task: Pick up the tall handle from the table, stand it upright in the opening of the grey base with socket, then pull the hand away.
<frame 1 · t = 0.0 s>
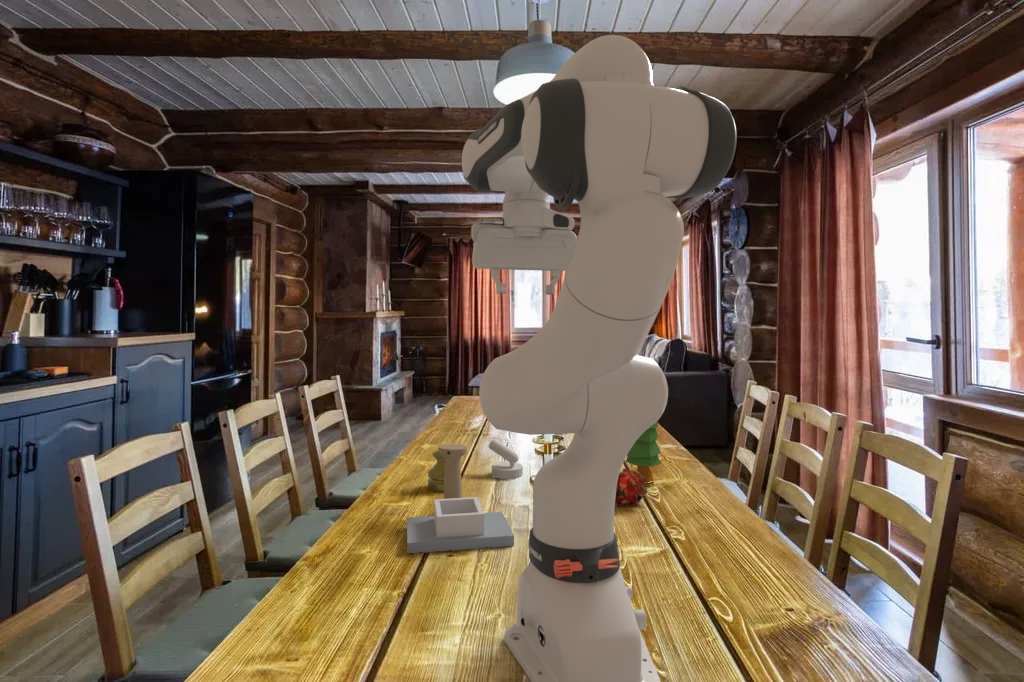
hand: (525, 294, 103), 48 cm above the table, tool pointing down, fingers open, 8 cm apart
grey base with socket: (458, 536, 109), on the table
handle: (452, 514, 121), on the table
decorative tree: (641, 481, 147), on the table
wall hook: (505, 475, 152), on the table
dragon fruit: (626, 504, 129), on the table
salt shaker: (442, 488, 139), on the table
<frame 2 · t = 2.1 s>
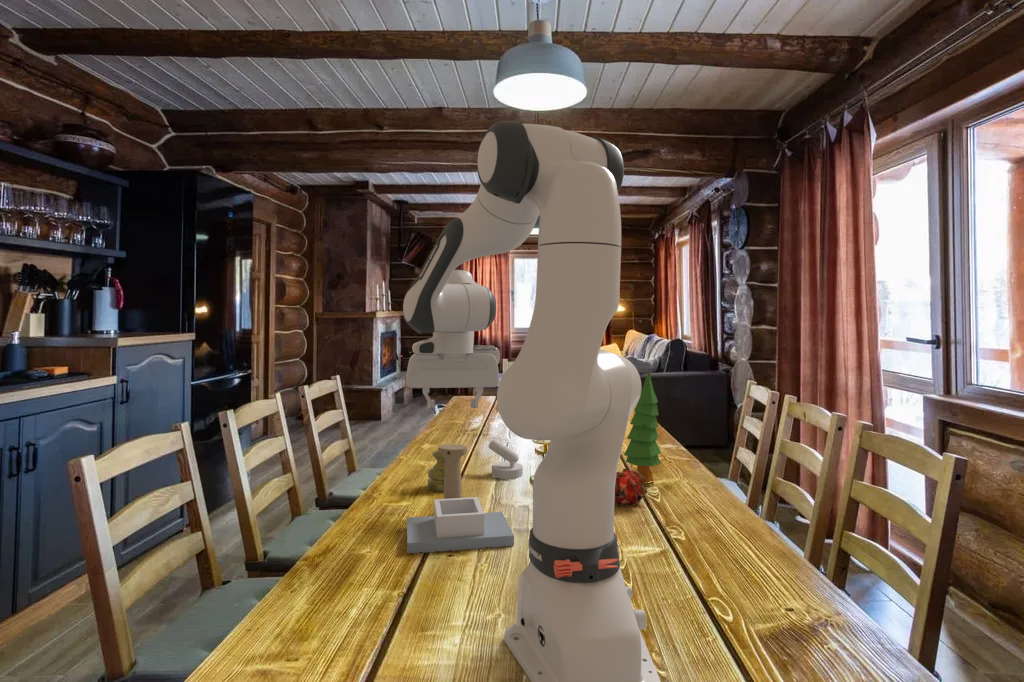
hand: (452, 407, 120), 24 cm above the table, tool pointing down, fingers open, 8 cm apart
nothing on the table moved.
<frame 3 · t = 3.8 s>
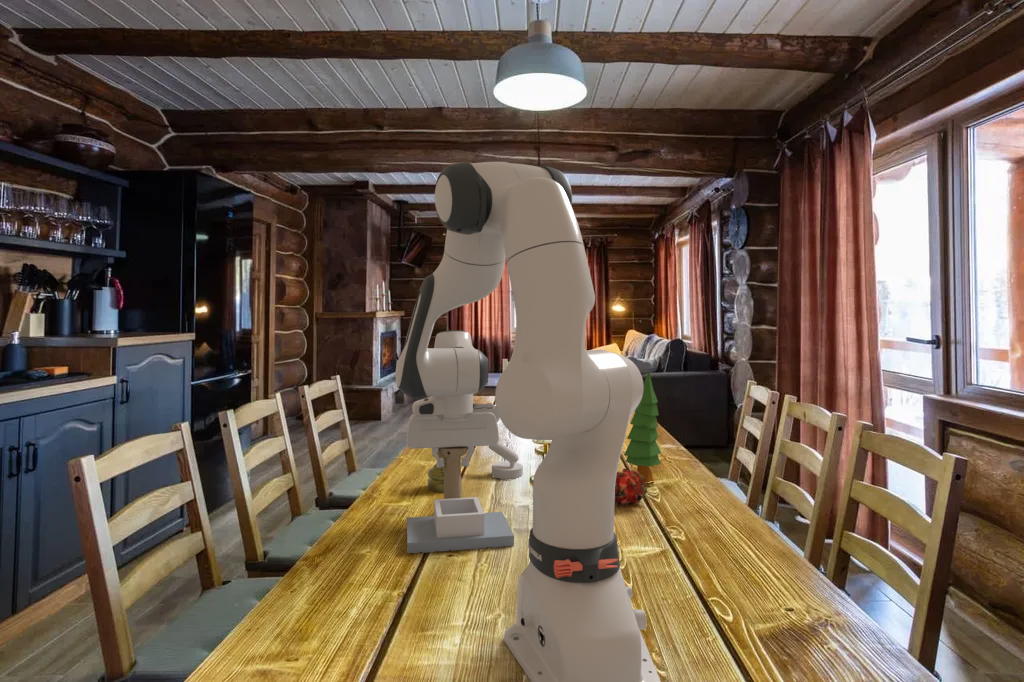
hand: (452, 466, 120), 11 cm above the table, tool pointing down, fingers closed on handle, 4 cm apart
handle: (452, 514, 121), on the table, touching gripper
everything else where it was.
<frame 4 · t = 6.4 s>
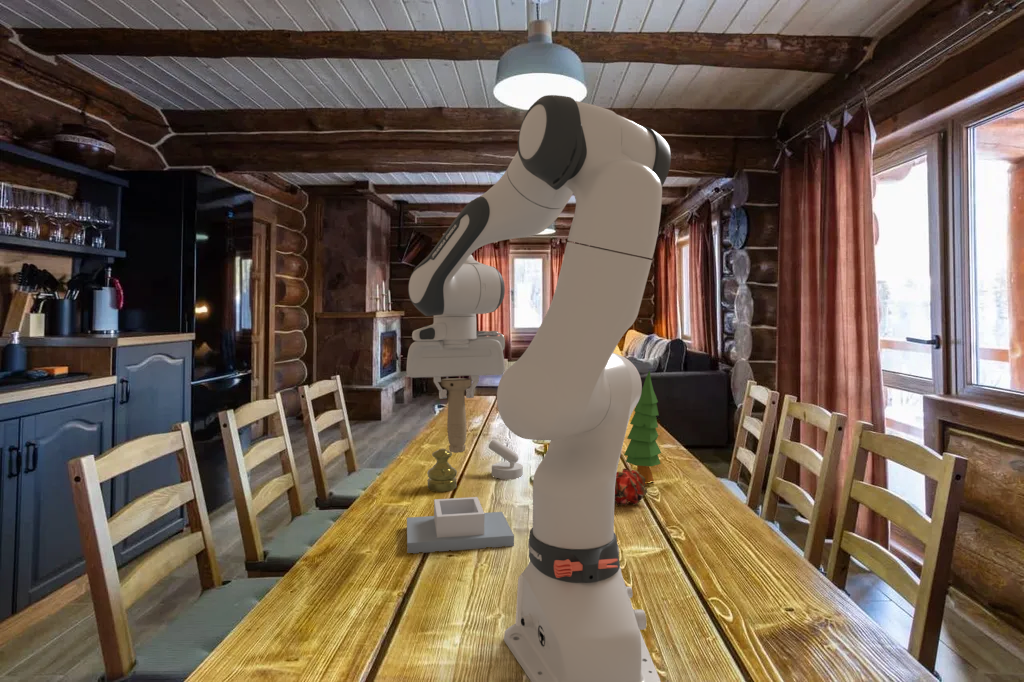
hand: (456, 398, 113), 27 cm above the table, tool pointing down, fingers closed on handle, 4 cm apart
handle: (457, 452, 114), point 15 cm above the table, touching gripper
everything else where it was.
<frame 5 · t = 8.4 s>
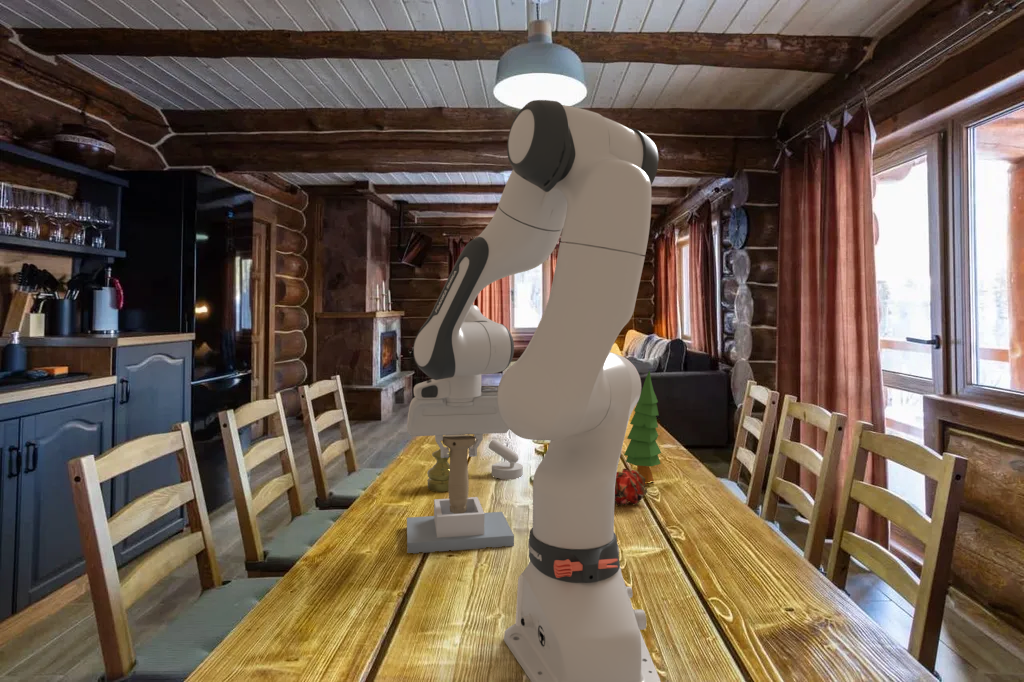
hand: (458, 456, 108), 16 cm above the table, tool pointing down, fingers closed on handle, 4 cm apart
handle: (458, 513, 109), point 5 cm above the table, touching gripper
everything else where it was.
when the fingers open (13 cm above the table, at t = 9.3 s): handle stays where it is, resting on grey base with socket.
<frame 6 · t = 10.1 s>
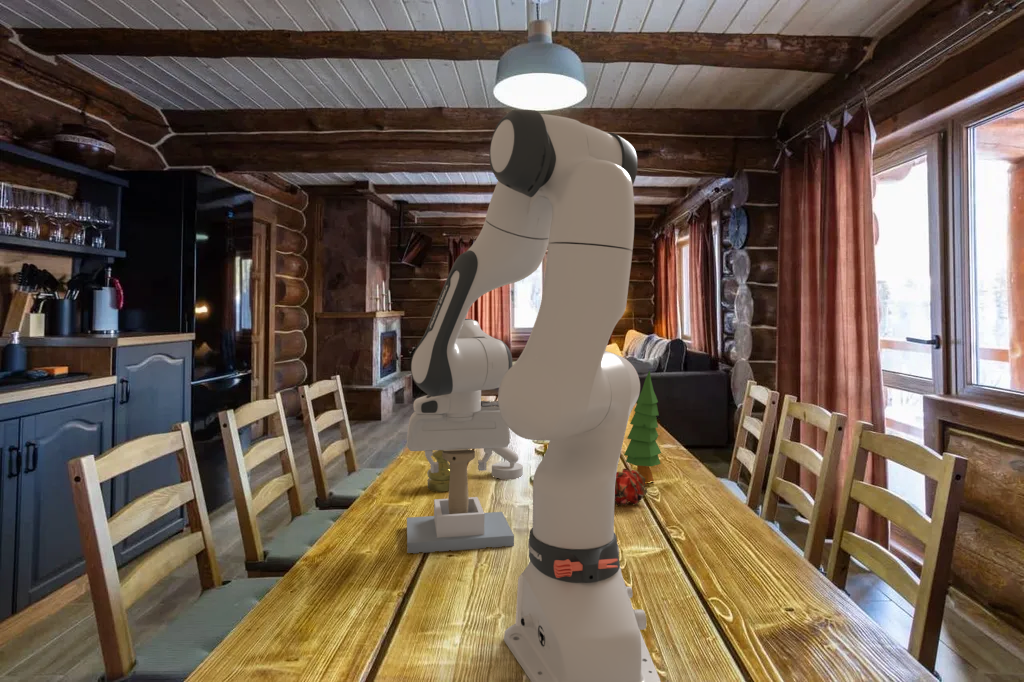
hand: (458, 471, 108), 13 cm above the table, tool pointing down, fingers open, 8 cm apart
handle: (458, 527, 109), point 2 cm above the table, touching grey base with socket
everything else where it was.
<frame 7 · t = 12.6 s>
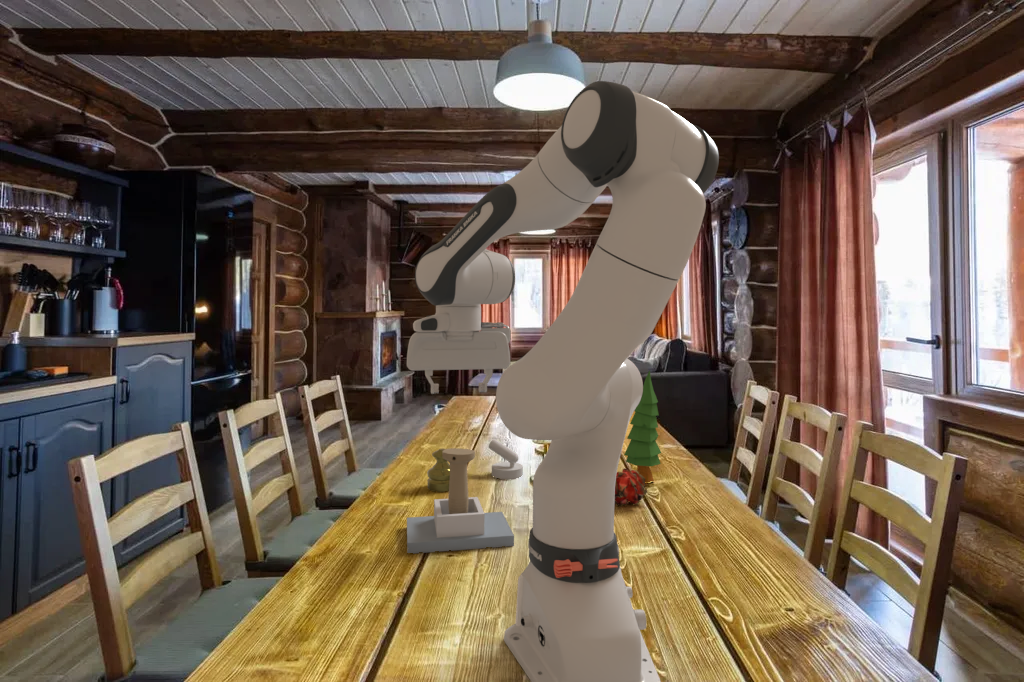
hand: (459, 392, 107), 29 cm above the table, tool pointing down, fingers open, 8 cm apart
nothing on the table moved.
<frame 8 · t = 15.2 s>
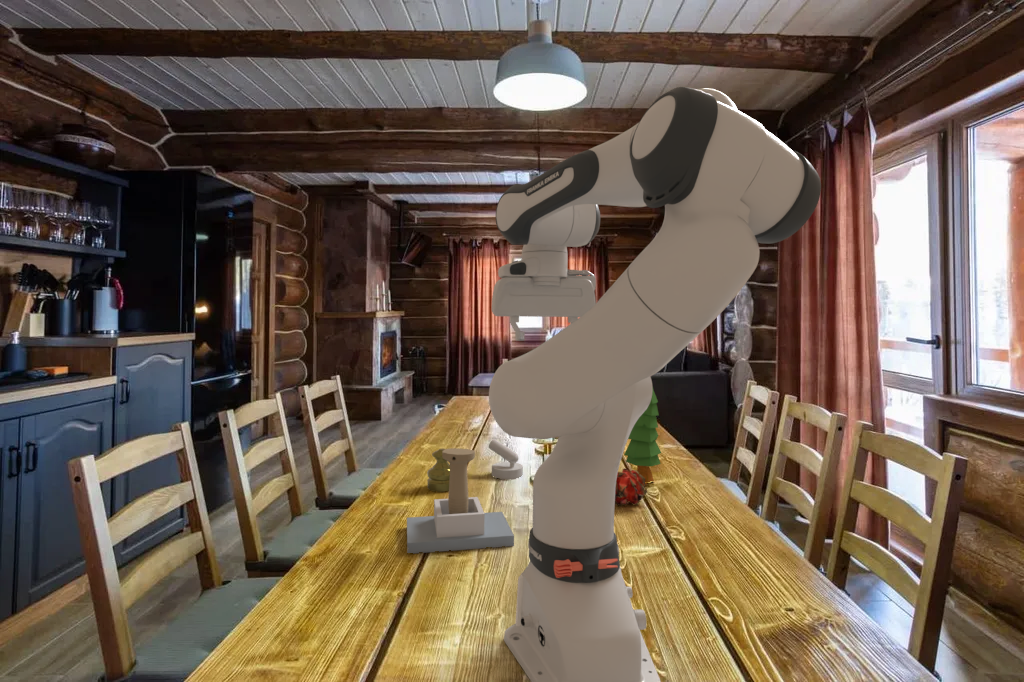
hand: (543, 340, 106), 39 cm above the table, tool pointing down, fingers open, 8 cm apart
nothing on the table moved.
at the end: handle 0.1 cm off-centre on the grey base with socket, point 1.8 cm above the grey base with socket's base; handle tilted 0°; the gripper is holding nothing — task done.
